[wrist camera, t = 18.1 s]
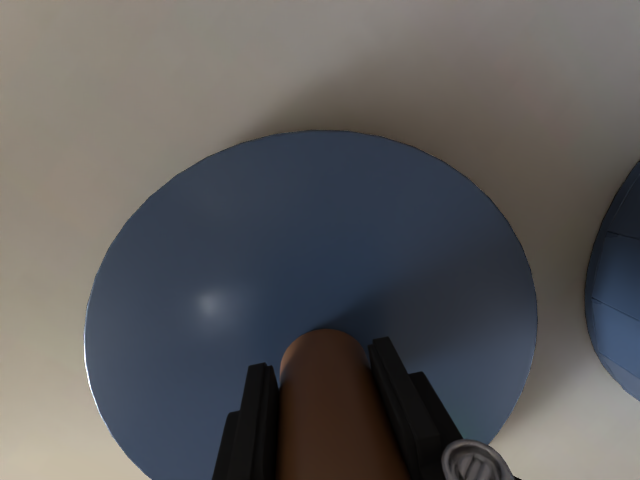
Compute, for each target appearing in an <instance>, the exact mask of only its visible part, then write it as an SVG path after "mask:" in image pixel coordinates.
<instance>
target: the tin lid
mask: <svg viewBox="0 0 640 480" xmlns="http://www.w3.org/2000/svg"><path fill="white" fill-rule="evenodd" d="M537 324H538V316H537V300H536V292H535V287H534V282H533V278H532V273H531V269H530V266H529V264H528V261H527V258H526V256H525V253H524V250H523V248H522V245H521V243H520V242H519V240H518V238H517V236H516V235H515V233H514V231H513V229H512V228H511V226H510V224H509V222H508V221H507V219H506V218H505V217H504V215H503V214H502V213H501V212H500V210H499V209H498V208H497V207H496V205H495V204H494V203H493V202H492V200H491V199H490V198H489V197H488V196H487V195H486V194H485V193H484V192H483V191H482V190H480V189H479V188H478V187H477V186H476V185H475V184H474V183H473V182H472V181H471V180H470V179H469V178H467V177H466V176H464V175H463V174H462V173H460V172H459V171H457V170H456V169H454V168H453V167H451V166H450V165H448V164H447V163H445V162H444V161H442V160H440V159H438V158H436V157H434V156H432V155H430V154H428V153H426V152H424V151H422V150H420V149H418V148H416V147H413V146H410V145H407V144H404V143H401V142H398V141H395V140H391V139H388V138H385V137H382V136H376V135H370V134H364V133H358V132H352V131H340V130H306V131H297V132H288V133H280V134H274V135H270V136H266V137H262V138H258V139H254V140H250V141H246V142H243V143H239V144H237V145H235V146H232V147H230V148H227V149H225V150H222V151H220V152H218V153H215V154H213V155H210V156H208V157H206V158H204V159H203V160H201V161H199V162H198V163H196V164H194V165H192V166H191V167H189V168H187V169H186V170H184V171H182V172H181V173H179V174H177V175H176V176H175V177H173V178H172V179H171V180H170V181H168V182H167V183H166V184H165V185H163V186H162V187H161V188H160V189H158V190H157V191H156V192H155V193H153V194H152V195H151V196H150V197H149V198H148V199H147V200H146V201H145V202H144V203H143V204H142V205H141V206H140V207H139V209H138V210H137V211H136V212H135V213H134V214H133V215H132V216H131V217H130V218H129V219H128V220H127V222H126V223H125V225H124V226H123V228H122V229H121V231H120V232H119V234H118V235H117V236H116V238H115V239H114V241H113V242H112V244H111V245H110V247H109V248H108V251H107V253H106V255H105V257H104V259H103V261H102V263H101V266H100V268H99V270H98V272H97V274H96V276H95V280H94V283H93V287H92V290H91V294H90V297H89V301H88V304H87V310H86V318H85V327H84V356H85V366H86V371H87V376H88V380H89V385H90V390H91V392H92V395H93V398H94V400H95V403H96V406H97V408H98V411H99V414H100V415H101V417H102V419H103V421H104V423H105V424H106V426H107V428H108V430H109V432H110V433H111V435H112V437H113V438H114V439H115V441H116V442H117V443H118V445H119V446H120V447H121V449H122V450H123V451H124V453H125V454H126V455H127V457H128V458H129V459H130V460H131V461H132V462H133V463H134V464H135V465H136V466H137V467H138V468H139V469H140V470H141V471H142V472H143V473H144V474H145V475H147V476H148V477H149V478H151V479H152V480H212V477H213V472H214V468H215V464H216V460H217V456H218V451H219V447H220V443H221V439H222V435H223V430H224V426H225V422H226V418H227V415H228V414H229V412H234V411H239V410H240V407H241V402H242V397H243V391H244V386H245V381H246V376H247V371H248V367H249V365H253V364H258V363H263V362H266V364H267V366H270V365H272V366H273V369H274V372H275V376H276V380H277V384H278V388H279V406H278V427H277V449H276V470H275V480H411V477H410V475H409V472H408V469H407V467H406V464H405V461H404V458H403V456H402V453H401V450H400V447H399V445H398V442H397V439H396V436H395V434H394V431H393V428H392V425H391V423H390V420H389V417H388V415H387V412H386V409H385V406H384V404H383V401H382V398H381V395H380V393H379V390H378V387H377V384H376V382H375V379H374V376H373V373H372V371H371V365H370V359H369V353H368V345H370V344H373V342H372V340H373V339H377V338H382V337H386V336H388V337H389V338H390V340H391V342H392V344H393V346H394V347H395V349H396V351H397V353H398V355H399V357H400V359H401V361H402V363H403V365H404V367H405V369H406V370H407V372H408V374H411V373H415V372H420V371H422V372H424V374H425V375H426V377H427V378H428V380H429V382H430V383H431V385H432V387H433V388H434V390H435V392H436V393H437V395H438V397H439V398H440V400H441V402H442V403H443V405H444V407H445V409H446V410H447V412H448V414H449V415H450V417H451V419H452V420H453V422H454V424H455V425H456V427H457V429H458V430H459V432H460V434H461V435H462V437H463V439H473V440H477V441H480V442H483V443H485V444H487V445H488V444H489V443H490V442H491V441H492V440H493V438H494V437H495V436H496V435H497V434H498V432H499V431H500V429H501V428H502V426H503V425H504V423H505V422H506V420H507V419H508V417H509V416H510V414H511V413H512V411H513V409H514V407H515V405H516V403H517V401H518V399H519V397H520V395H521V393H522V391H523V388H524V385H525V383H526V380H527V377H528V374H529V372H530V369H531V364H532V360H533V355H534V351H535V346H536V336H537Z"/></svg>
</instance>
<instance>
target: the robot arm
mask: <svg viewBox="0 0 640 480" xmlns="http://www.w3.org/2000/svg"><path fill="white" fill-rule="evenodd" d="M372 342H373V344H370V345H368V353H369V359H370V365H371V371H372V373H373V376H374V379H375V382H376V384H377V387H378V390H379V393H380V395H381V398H382V401H383V404H384V406H385V409H386V412H387V415H388V417H389V420H390V423H391V425H392V428H393V431H394V434H395V436H396V439H397V442H398V445H399V447H400V450H401V453H402V456H403V458H404V461H405V464H406V467H407V469H408V472H409V475H410V477H411V480H521V479H519V478H517V477H515V476H513V475H512V473H511V471H510V469H509V467H508V465H507V464H506V462H505V461H504V459H503V458H502V457H501V455H500V454H499V453H498V452H497V451H495V450H494V449H493V448H492V447H490V446H489V445H487V444H485V443H483V442H480V441H477V440H473V439H463V437H462V435H461V434H460V432H459V430H458V429H457V427H456V425H455V424H454V422H453V420H452V419H451V417H450V415H449V414H448V412H447V410H446V409H445V407H444V405H443V403H442V402H441V400H440V398H439V397H438V395H437V393H436V392H435V390H434V388H433V387H432V385H431V383H430V382H429V380H428V378H427V377H426V375H425V374H424V372H422V371H420V372H415V373H411V374H408V372H407V370H406V369H405V367H404V365H403V363H402V361H401V359H400V357H399V355H398V353H397V351H396V349H395V347H394V346H393V344H392V342H391V340H390V338H389V337H388V336H386V337H382V338H377V339H373V340H372ZM278 406H279V388H278V384H277V380H276V376H275V372H274V369H273V366H272V365H270V366H267V364H266V362H263V363H258V364H253V365H249V367H248V371H247V376H246V381H245V386H244V391H243V397H242V402H241V407H240V410H239V411H234V412H229V414H228V415H227V418H226V422H225V426H224V430H223V435H222V439H221V443H220V447H219V451H218V456H217V460H216V464H215V468H214V472H213V477H212V480H275V470H276V449H277V427H278Z"/></svg>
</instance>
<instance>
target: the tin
mask: <svg viewBox="0 0 640 480" xmlns="http://www.w3.org/2000/svg"><path fill="white" fill-rule="evenodd" d="M585 315H586V321H587V327H588V333H589V336H590V339H591V342H592V345H593V347H594V350H595V352H596V354H597V356H598V357H599V359H600V361H601V363H602V365H603V366H604V367H605V369H606V370H607V371H608V372H609V374H610V375H611V376H612V377H613V378H614V379H615V380H616V381H617V382H618V383H619V384H620V385H621V386H622V388H623V389H624V390H625V391H626V392H627V393H629V394H630V395H632V396H633V397H634V398H636V399H637V400H638V401H640V161H639V162H638V163H637V165H636V166H635V167H634V168H633V170H632V171H631V173H630V174H629V176H628V177H627V179H626V180H625V182H624V184H623V185H622V187H621V188H620V190H619V191H618V193H617V194H616V196H615V198H614V200H613V202H612V204H611V206H610V208H609V210H608V212H607V214H606V216H605V218H604V220H603V222H602V225H601V228H600V230H599V233H598V235H597V238H596V241H595V243H594V246H593V250H592V254H591V258H590V262H589V266H588V271H587V279H586V287H585Z"/></svg>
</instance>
